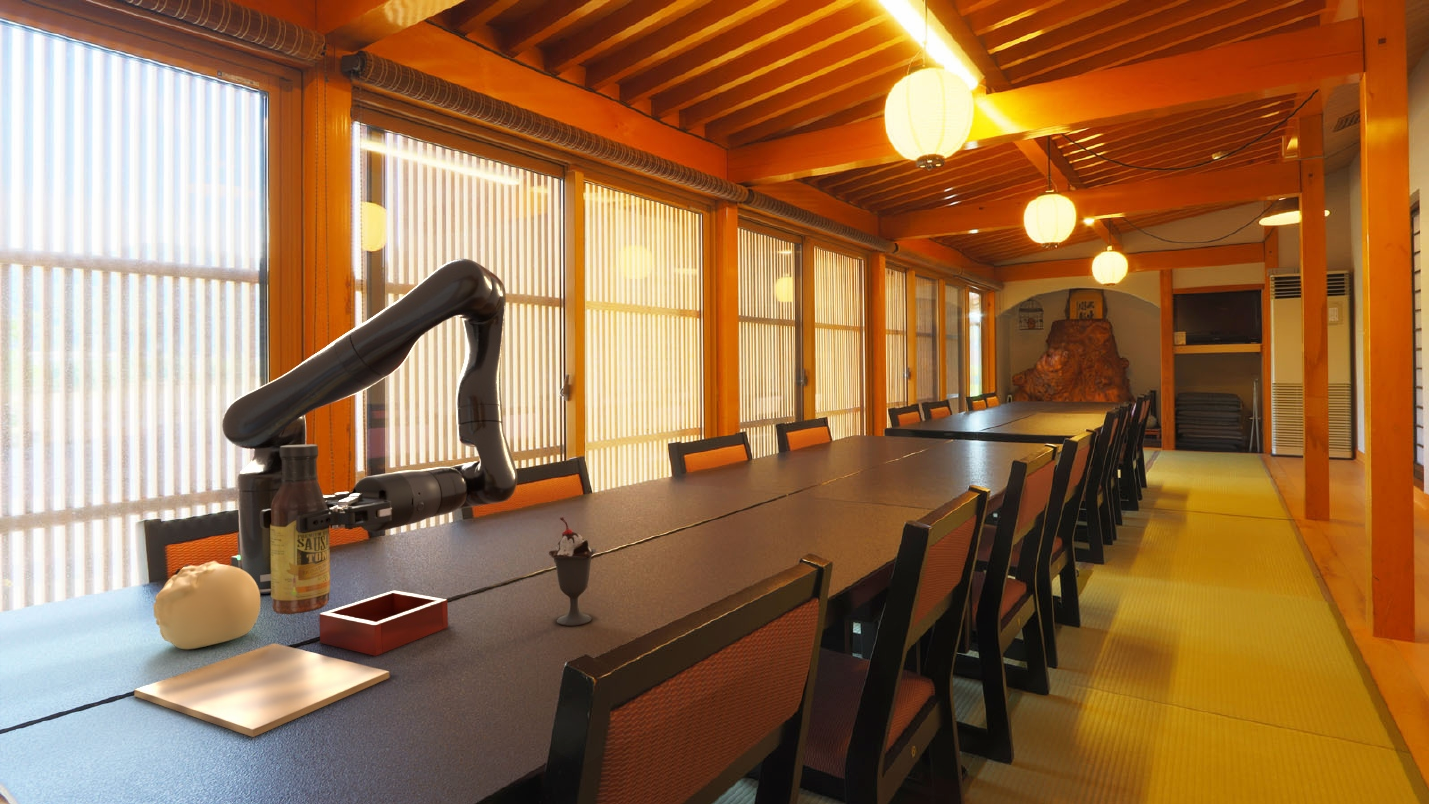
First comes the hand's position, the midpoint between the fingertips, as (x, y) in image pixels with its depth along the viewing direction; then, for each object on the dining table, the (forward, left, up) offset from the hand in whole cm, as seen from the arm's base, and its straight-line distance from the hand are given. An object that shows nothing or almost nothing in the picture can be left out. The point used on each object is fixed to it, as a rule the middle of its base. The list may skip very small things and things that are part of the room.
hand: (280, 522), depth 87 cm
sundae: (+18, +31, -19) cm, 41 cm away
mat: (0, -3, -19) cm, 19 cm away
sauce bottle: (0, +2, -11) cm, 11 cm away
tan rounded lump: (-22, +3, -19) cm, 29 cm away
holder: (-2, +15, -19) cm, 24 cm away
